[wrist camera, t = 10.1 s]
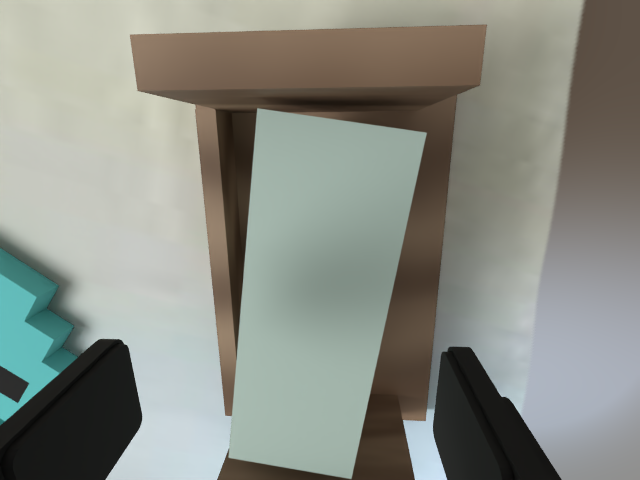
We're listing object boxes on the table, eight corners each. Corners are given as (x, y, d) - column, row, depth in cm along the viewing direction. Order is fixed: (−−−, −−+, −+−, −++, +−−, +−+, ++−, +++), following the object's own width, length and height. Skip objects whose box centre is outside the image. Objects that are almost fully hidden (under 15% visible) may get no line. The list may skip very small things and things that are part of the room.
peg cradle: (199, 77, 20) (60, 16, 10) (453, 72, 19) (568, 0, 9) (230, 400, 26) (161, 556, 16) (422, 410, 25) (471, 581, 15)
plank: (278, 115, 16) (257, 108, 12) (406, 134, 16) (427, 132, 12) (250, 398, 21) (228, 457, 17) (350, 415, 20) (351, 479, 17)
